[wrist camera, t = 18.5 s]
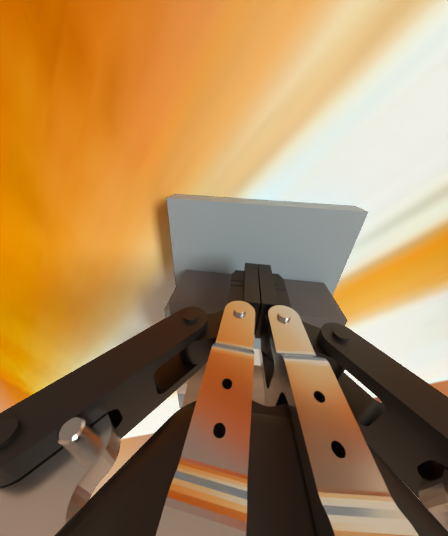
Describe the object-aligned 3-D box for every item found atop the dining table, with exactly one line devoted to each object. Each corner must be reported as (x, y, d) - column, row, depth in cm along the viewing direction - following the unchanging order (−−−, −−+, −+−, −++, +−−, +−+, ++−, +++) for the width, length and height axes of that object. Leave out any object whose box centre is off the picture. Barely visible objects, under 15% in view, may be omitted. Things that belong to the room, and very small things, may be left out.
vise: (174, 194, 13) (148, 206, 10) (355, 206, 12) (397, 225, 9) (189, 375, 24) (180, 411, 21) (284, 388, 23) (290, 427, 20)
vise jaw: (173, 268, 14) (152, 299, 11) (339, 284, 13) (366, 322, 10) (179, 332, 18) (165, 369, 15) (311, 348, 17) (325, 391, 14)
